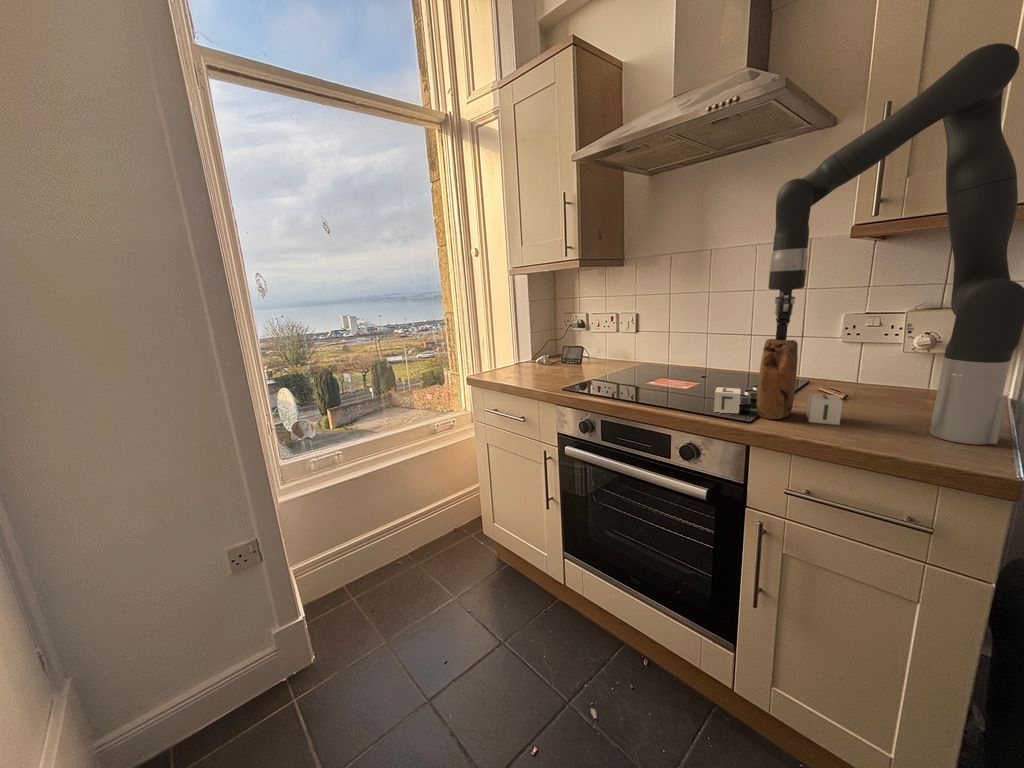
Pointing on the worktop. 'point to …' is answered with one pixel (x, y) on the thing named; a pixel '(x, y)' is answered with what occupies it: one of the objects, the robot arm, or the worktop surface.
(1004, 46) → the robot arm
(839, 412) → the cube one
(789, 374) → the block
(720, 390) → the cube seven
